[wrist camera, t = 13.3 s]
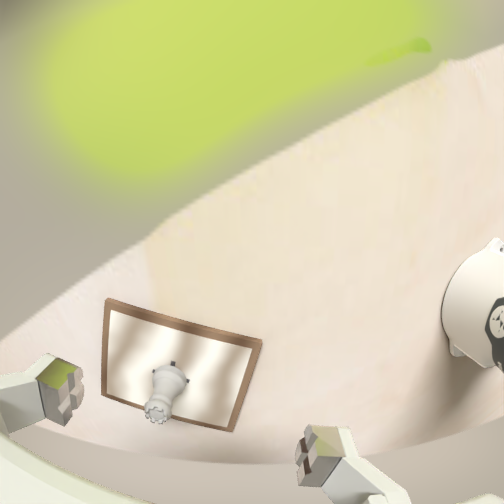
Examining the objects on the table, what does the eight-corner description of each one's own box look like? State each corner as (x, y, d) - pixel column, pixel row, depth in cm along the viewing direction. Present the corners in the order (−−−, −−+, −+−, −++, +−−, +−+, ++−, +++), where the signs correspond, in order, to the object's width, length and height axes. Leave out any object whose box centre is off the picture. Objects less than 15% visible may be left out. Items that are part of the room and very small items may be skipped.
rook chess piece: (150, 362, 37) (131, 400, 29) (183, 362, 37) (170, 401, 29) (158, 390, 38) (142, 428, 30) (190, 390, 38) (179, 430, 30)
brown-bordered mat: (261, 339, 37) (262, 344, 36) (232, 427, 41) (232, 433, 39) (108, 297, 36) (104, 301, 35) (103, 391, 39) (100, 396, 38)
